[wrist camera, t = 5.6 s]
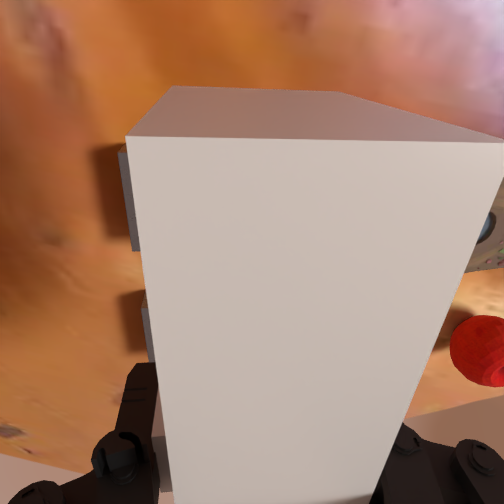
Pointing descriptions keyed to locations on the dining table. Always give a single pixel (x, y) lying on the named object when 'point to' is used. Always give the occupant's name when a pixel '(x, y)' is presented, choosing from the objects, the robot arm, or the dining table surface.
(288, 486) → the bar
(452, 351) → the apple
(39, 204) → the dining table surface
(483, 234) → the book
